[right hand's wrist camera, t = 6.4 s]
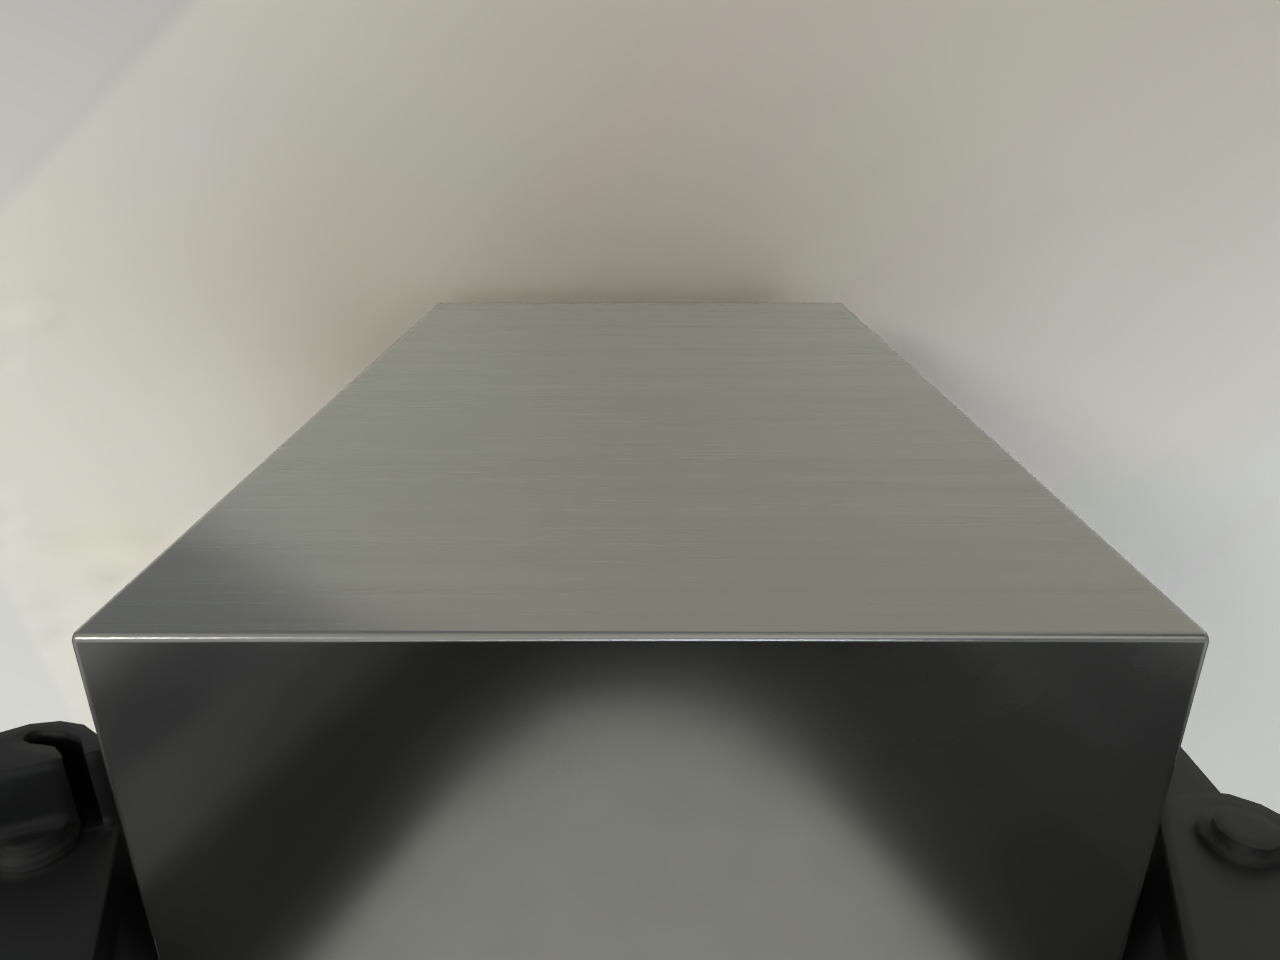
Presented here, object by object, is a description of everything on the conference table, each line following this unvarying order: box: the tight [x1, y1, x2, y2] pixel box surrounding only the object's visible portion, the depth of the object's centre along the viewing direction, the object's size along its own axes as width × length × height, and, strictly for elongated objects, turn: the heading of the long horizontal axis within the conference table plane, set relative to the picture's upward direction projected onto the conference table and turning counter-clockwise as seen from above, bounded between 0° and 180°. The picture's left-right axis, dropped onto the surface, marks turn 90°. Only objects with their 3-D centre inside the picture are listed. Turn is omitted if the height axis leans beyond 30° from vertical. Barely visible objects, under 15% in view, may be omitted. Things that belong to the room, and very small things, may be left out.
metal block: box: [72, 303, 1209, 960], centre depth 12 cm, size 7×7×11 cm
